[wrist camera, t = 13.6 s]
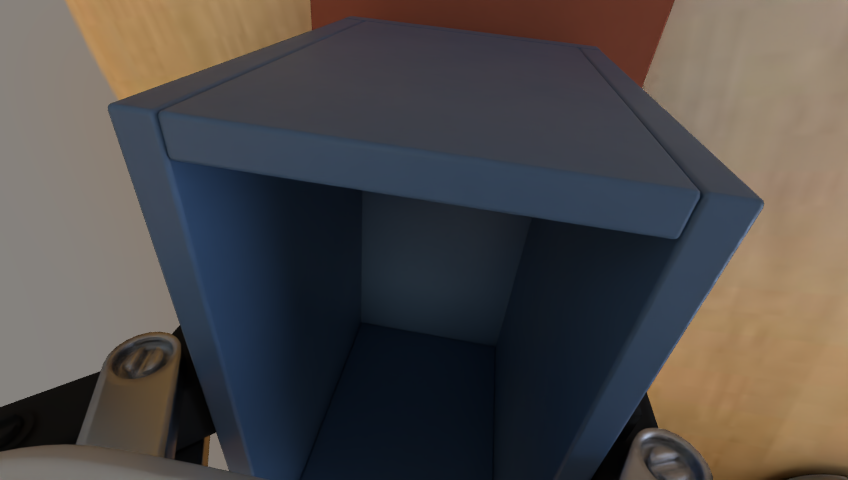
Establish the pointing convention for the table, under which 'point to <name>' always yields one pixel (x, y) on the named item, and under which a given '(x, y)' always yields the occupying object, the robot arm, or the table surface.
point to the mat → (529, 22)
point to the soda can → (820, 477)
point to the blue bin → (426, 248)
